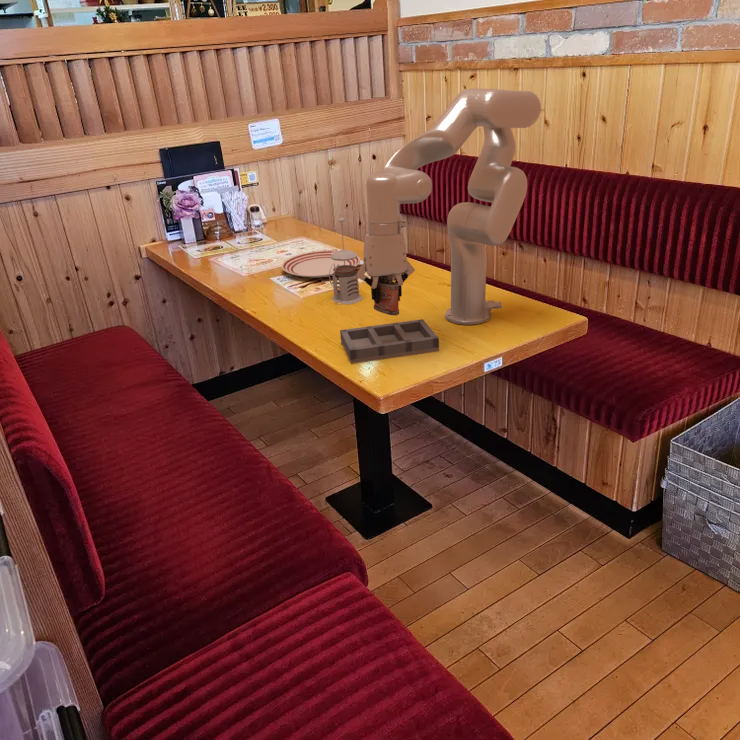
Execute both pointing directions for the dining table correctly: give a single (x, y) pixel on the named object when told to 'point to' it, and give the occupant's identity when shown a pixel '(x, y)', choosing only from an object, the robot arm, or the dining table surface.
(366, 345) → the tray
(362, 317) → the dining table surface
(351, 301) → the french press
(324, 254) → the dinner plate
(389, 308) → the lighter
